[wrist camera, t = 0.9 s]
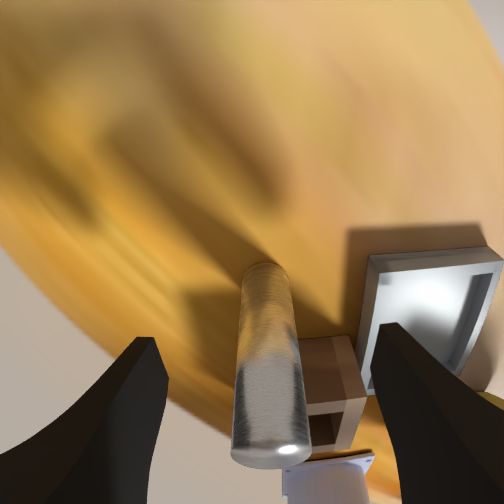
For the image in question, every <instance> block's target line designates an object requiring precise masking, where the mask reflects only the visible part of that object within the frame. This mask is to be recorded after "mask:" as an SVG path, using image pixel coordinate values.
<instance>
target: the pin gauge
mask: <svg viewBox="0 0 504 504" xmlns="http://www.w3.org/2000/svg"><path fill="white" fill-rule="evenodd" d="M311 453H312V445H311V437H310V428H309V420H308V412H307V404H306V396H305V389H304V381H303V374H302V366H301V359H300V352H299V345H298V338H297V331H296V324H295V317H294V311H293V304H292V298H291V291H290V285H289V278H288V275H287V273H286V271H285V270H284V269H283V268H282V267H281V266H279V265H277V264H275V263H271V262H261V263H257V264H255V265H253V266H251V267H250V268H249V269H248V270H247V271H246V272H245V274H244V276H243V280H242V292H241V306H240V320H239V335H238V349H237V364H236V379H235V394H234V409H233V424H232V440H231V457H232V458H233V459H234V460H235V461H236V462H238V463H239V464H241V465H244V466H247V467H251V468H257V469H281V468H286V467H291V466H294V465H297V464H299V463H301V462H303V461H305V460H306V459H308V458H309V457H310V455H311Z"/></svg>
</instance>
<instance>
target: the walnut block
mask: <svg viewBox="0 0 504 504" xmlns="http://www.w3.org/2000/svg"><path fill="white" fill-rule="evenodd" d="M298 345H299V352H300V359H301V366H302V374H303V381H304V389H305V396H306V404H307V412H308V420H309V428H310V437H311V445H312V453H311V454H315V453H323V452H331V451H339V450H346V449H350V447H351V444H352V441H353V438H354V436H355V433H356V430H357V427H358V424H359V421H360V419H361V416H362V413H363V409H364V406H365V403H366V400H367V397H368V396H367V393H366V390H365V386H364V383H363V380H362V376H361V373H360V370H359V366H358V363H357V360H356V357H355V354H354V351H353V347H352V344H351V341H350V338H349V335H344V336H334V337H324V338H313V339H301V340H298Z"/></svg>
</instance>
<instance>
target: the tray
mask: <svg viewBox="0 0 504 504" xmlns="http://www.w3.org/2000/svg"><path fill="white" fill-rule="evenodd" d="M503 264H504V259H503V258H502V257H500V256H499V255H498V254H497V253H496V252H495V251H494V250H492V249H491V248H490V247H489V246H485V247H473V248H460V249H447V250H435V251H421V252H408V253H394V254H381V255H369V256H368V265H367V274H366V282H365V290H364V298H363V305H362V311H361V318H360V324H359V330H358V336H357V342H356V348H355V353H354V354H355V357H356V360H357V363H358V366H359V370H360V373H361V376H362V380H363V383H364V386H365V390H366V393H367V396H369V395H375V390H374V385H373V381H372V376H371V371H370V364H371V360H372V356H373V352H374V348H375V343H376V339H377V335H378V330H379V325H380V324H385V323H392V322H398V323H399V324H400V325H401V326H402V327H403V328H404V329H405V330H406V331H407V332H408V333H409V334H410V335H411V336H412V337H413V338H414V339H415V340H417V341H418V342H419V343H420V344H421V345H422V346H423V347H424V348H425V349H426V350H427V351H428V352H429V353H430V354H431V355H432V356H433V357H434V358H436V359H437V360H438V361H439V362H440V363H441V364H442V365H443V366H444V367H445V368H447V369H448V370H449V371H450V372H451V373H452V374H454V375H455V376H460V374H461V372H462V370H463V368H464V366H465V364H466V362H467V359H468V357H469V355H470V353H471V351H472V349H473V346H474V344H475V342H476V340H477V337H478V335H479V333H480V330H481V328H482V325H483V323H484V320H485V318H486V315H487V312H488V310H489V307H490V304H491V302H492V299H493V296H494V293H495V290H496V287H497V284H498V281H499V278H500V274H501V271H502V268H503Z"/></svg>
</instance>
